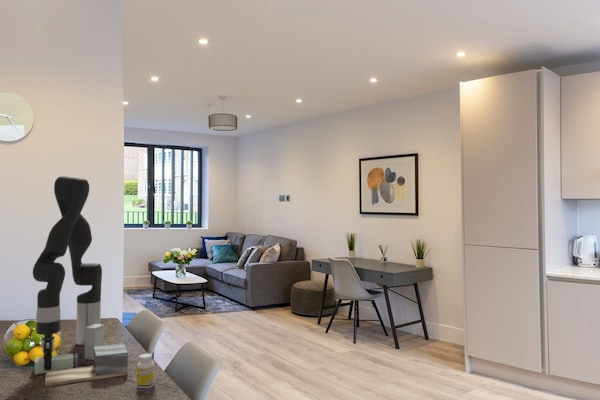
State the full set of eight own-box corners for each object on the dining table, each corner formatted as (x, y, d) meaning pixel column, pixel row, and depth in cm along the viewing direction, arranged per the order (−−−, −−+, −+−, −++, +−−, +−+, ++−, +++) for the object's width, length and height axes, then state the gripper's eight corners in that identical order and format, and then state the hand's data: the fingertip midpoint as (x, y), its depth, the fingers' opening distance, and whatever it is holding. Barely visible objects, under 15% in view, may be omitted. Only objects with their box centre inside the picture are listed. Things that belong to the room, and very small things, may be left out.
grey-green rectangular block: (35, 369, 169) (35, 357, 169) (77, 363, 175) (77, 352, 175) (34, 374, 164) (34, 362, 164) (77, 368, 170) (78, 357, 170)
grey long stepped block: (45, 374, 163) (46, 352, 163) (123, 364, 174) (123, 343, 174) (44, 386, 152) (45, 362, 152) (127, 374, 164) (127, 352, 164)
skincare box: (94, 360, 179) (94, 328, 179) (84, 359, 179) (84, 327, 180) (104, 355, 184) (104, 324, 185) (94, 354, 185) (94, 323, 185)
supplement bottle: (139, 382, 156) (139, 352, 156) (156, 382, 157) (156, 352, 157) (134, 389, 151) (135, 358, 151) (152, 388, 151) (152, 357, 151)
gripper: (37, 315, 173) (36, 362, 173) (35, 324, 160) (34, 375, 160) (60, 313, 176) (60, 359, 176) (60, 322, 163) (59, 371, 163)
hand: (48, 366), depth 168 cm, fingers closed on grey-green rectangular block, 5 cm apart
